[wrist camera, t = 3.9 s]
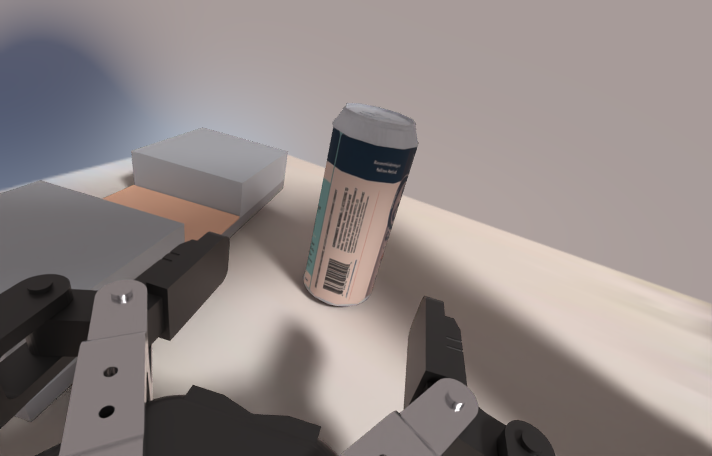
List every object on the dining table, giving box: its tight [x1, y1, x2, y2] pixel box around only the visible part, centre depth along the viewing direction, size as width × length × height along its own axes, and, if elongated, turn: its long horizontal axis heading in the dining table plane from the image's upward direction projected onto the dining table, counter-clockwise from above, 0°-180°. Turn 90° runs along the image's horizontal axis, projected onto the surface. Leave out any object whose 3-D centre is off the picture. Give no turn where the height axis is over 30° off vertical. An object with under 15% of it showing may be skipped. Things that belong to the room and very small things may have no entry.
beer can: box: [303, 103, 418, 306], centre depth 21 cm, size 5×5×12 cm
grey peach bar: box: [0, 128, 288, 422], centre depth 24 cm, size 9×26×4 cm, turn 169°
